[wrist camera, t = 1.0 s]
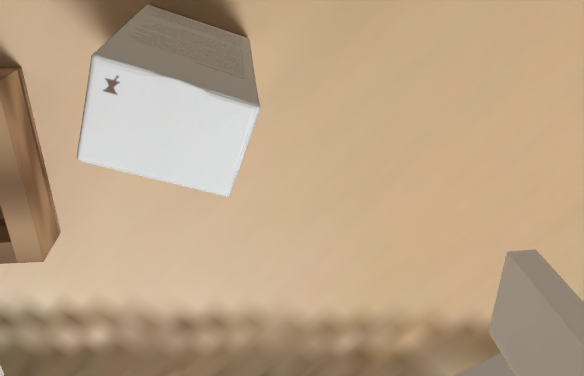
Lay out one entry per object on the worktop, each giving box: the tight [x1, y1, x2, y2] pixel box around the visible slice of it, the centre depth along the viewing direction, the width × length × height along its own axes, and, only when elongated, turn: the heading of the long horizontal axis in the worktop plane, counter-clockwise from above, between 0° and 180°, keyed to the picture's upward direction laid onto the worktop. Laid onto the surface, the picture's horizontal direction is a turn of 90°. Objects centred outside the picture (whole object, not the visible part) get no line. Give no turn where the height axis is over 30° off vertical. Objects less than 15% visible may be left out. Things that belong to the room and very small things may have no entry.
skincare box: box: [77, 5, 260, 197], centre depth 23 cm, size 6×4×12 cm
